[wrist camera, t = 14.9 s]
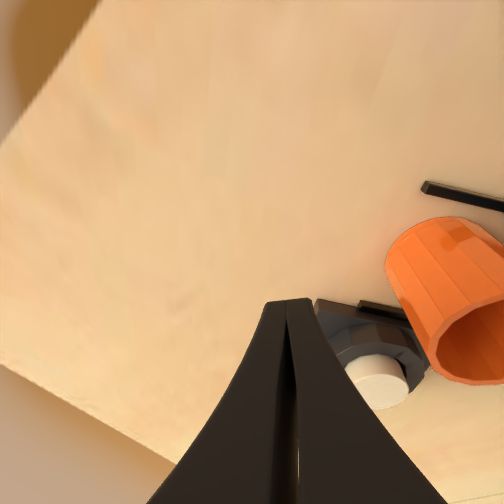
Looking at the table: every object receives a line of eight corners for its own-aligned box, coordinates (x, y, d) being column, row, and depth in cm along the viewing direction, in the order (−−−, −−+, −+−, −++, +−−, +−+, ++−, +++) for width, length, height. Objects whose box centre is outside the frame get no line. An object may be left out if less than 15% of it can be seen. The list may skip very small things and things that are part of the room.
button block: (290, 358, 26) (292, 390, 23) (317, 298, 22) (322, 328, 20) (401, 381, 26) (414, 415, 24) (445, 326, 23) (466, 359, 20)
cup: (370, 244, 19) (411, 323, 14) (476, 198, 17) (578, 268, 12) (401, 307, 22) (446, 397, 16) (496, 274, 20) (588, 364, 14)
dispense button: (335, 382, 23) (339, 403, 22) (355, 348, 21) (361, 369, 19) (385, 392, 23) (392, 414, 22) (410, 359, 21) (420, 381, 20)
